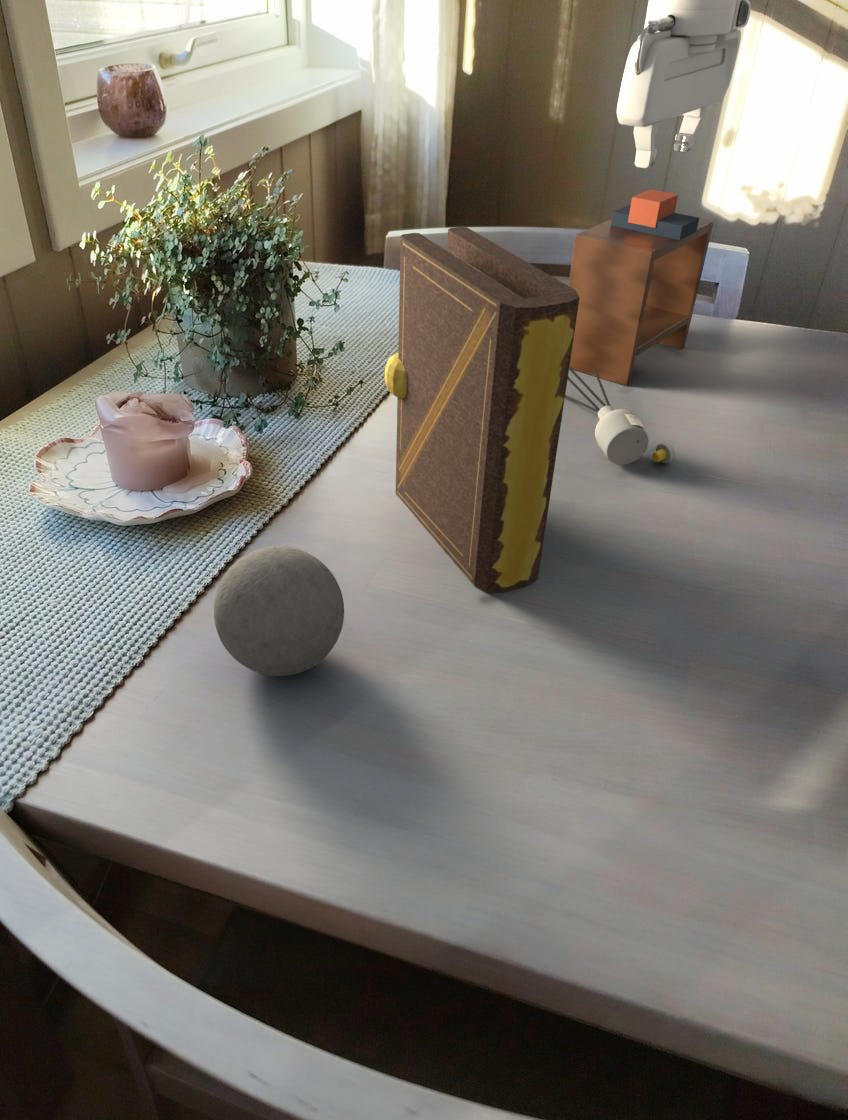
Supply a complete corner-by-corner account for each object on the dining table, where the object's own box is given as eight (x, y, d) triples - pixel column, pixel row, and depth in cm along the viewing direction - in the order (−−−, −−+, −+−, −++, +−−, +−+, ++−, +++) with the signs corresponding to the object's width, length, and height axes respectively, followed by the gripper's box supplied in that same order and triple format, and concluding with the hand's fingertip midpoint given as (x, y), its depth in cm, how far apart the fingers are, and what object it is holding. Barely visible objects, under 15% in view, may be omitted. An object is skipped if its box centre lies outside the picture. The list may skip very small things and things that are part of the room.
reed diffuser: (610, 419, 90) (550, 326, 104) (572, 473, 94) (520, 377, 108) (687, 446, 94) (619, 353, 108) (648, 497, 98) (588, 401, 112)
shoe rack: (684, 347, 120) (714, 220, 110) (626, 386, 111) (652, 251, 101) (618, 329, 125) (640, 205, 115) (557, 364, 116) (575, 234, 106)
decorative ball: (201, 689, 69) (183, 586, 63) (248, 612, 77) (236, 512, 70) (323, 713, 67) (318, 609, 61) (359, 632, 75) (358, 531, 68)
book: (556, 577, 80) (603, 296, 64) (472, 600, 78) (499, 313, 62) (446, 465, 96) (462, 216, 80) (374, 481, 94) (374, 227, 77)
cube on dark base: (696, 231, 106) (704, 199, 104) (679, 240, 104) (686, 207, 101) (628, 217, 111) (634, 186, 108) (610, 226, 108) (615, 193, 106)
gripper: (672, 23, 86) (645, 181, 95) (758, 5, 98) (727, 146, 107) (613, 19, 89) (593, 172, 98) (703, 2, 101) (678, 139, 110)
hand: (663, 158), depth 103 cm, fingers open, 8 cm apart
